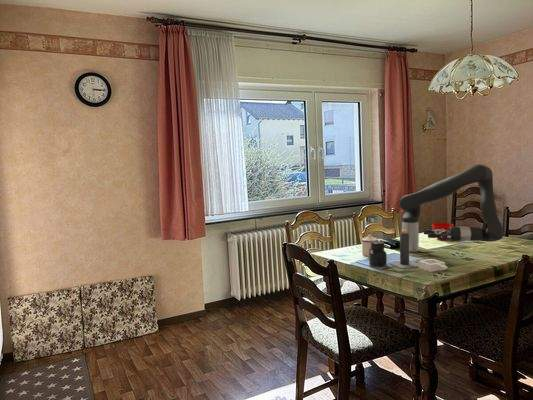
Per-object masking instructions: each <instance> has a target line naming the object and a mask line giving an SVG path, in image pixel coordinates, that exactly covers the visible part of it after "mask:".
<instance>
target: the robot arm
mask: <svg viewBox="0 0 533 400" xmlns="http://www.w3.org/2000/svg"><path fill="white" fill-rule="evenodd" d="M493 176H494V175H493V170H492V169H491V168H490V167H489V166H487V165H485V164H484V165H483V164H474V165H472V166H471V167H469V168H467V169H466V170H464V171H462V172H459V173H457V174H455V175H452V176H448V177H446V178H444V179H442V180H439V181H437V182H434V183H432V184H431V185H429V186H426V187H424V188H423V189H420V190H419V191H416V192H414V193H410V194H406V195H404V196H401V198H400V200H399V203H398V205H399V208H400V209H401V210H403V211H404V213H403V216H402V218H401V230H407V233H409V253H412V252H415V253H416V252H420V251H419V247H420V246H419V243H420V241H419V240H420V237H419V235H420V233H419V232H420V231H419V228H420V227H419V226H420V225H419V219H420V216H421V215H420V214H421V205H423V204H425V203H426V204H427V203H430V202H436V201H439V200H441V199H444V198H446V197H450V196H451V195H453V194H454V193H456V192H457V191H459V190H460V189H461V188H464V187H466V186H468V185H471V184H475V183H476V184H477V185H478V187H479V188H478V189H479V191H480V213H481V217H482V220H483V223H485V224H486V226H487V227H486V228H484V227H483V228H482V227H477V226H454V227H449V228H448V231H446V230H444V229H432V228H431V229H424V230H423V235H426V236H427V238H428V239H437V240H438V238H439V239H448V240H449V242H486V243H487V242H488V243H489V242H490V243H491V242H497V241H500V240H502V239H503V237H504V235H505V231H504V228H503V225H502V223H501V221H500V219H499V215H498V209H497V205H496V201H495V196H494V195H495V194H494V185H493V184H494V182H493V181H494V180H493V179H494V177H493ZM434 231H435V232H436V233H434Z"/></svg>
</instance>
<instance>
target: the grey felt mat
mask: <svg viewBox="0 0 533 400" xmlns="http://www.w3.org/2000/svg"><path fill="white" fill-rule="evenodd" d="M388 263H389V264H388V265H390V264H391V266H393V267H396V268H399V269H401V270H403V269H405V270H406V269H411V268H418V263H417V262H414V261H412V260H411V261H410V260H409V265H402V264H400V260H398V261H390V262H388Z"/></svg>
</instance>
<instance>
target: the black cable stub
mask: <svg viewBox="0 0 533 400" xmlns="http://www.w3.org/2000/svg"><path fill="white" fill-rule="evenodd" d="M400 231H401V232H400V233H399V256H400V257H399V261H400V264H402V265H409V261H410V252H409V233H407V230H402V229H401V230H400Z"/></svg>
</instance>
